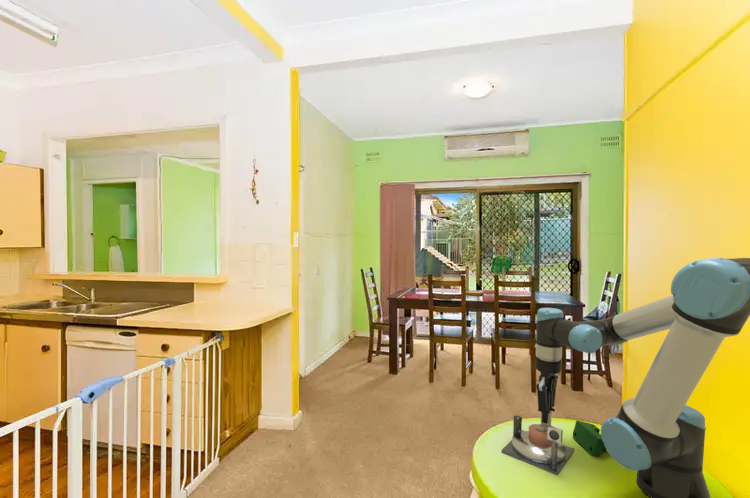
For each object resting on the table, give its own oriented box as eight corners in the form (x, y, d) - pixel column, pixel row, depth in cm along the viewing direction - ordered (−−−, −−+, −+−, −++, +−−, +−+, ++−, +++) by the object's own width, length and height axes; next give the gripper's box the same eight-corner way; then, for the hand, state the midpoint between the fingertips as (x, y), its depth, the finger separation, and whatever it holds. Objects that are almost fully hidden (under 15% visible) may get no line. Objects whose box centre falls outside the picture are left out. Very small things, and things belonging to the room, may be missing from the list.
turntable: (571, 448, 119) (572, 424, 118) (556, 470, 107) (557, 443, 107) (522, 430, 129) (523, 408, 128) (503, 449, 118) (504, 424, 117)
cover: (556, 440, 120) (556, 426, 120) (548, 449, 115) (549, 435, 114) (533, 432, 125) (533, 418, 124) (524, 441, 119) (525, 426, 119)
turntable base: (575, 451, 118) (576, 412, 118) (558, 475, 107) (560, 432, 106) (521, 432, 129) (523, 396, 129) (501, 452, 117) (502, 413, 117)
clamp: (604, 467, 118) (619, 448, 114) (585, 463, 117) (600, 443, 114) (586, 433, 129) (600, 415, 125) (569, 429, 128) (583, 410, 124)
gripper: (543, 350, 129) (540, 420, 130) (528, 360, 119) (525, 434, 120) (567, 355, 124) (564, 427, 125) (553, 366, 114) (551, 444, 115)
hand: (545, 431), depth 123 cm, fingers closed
